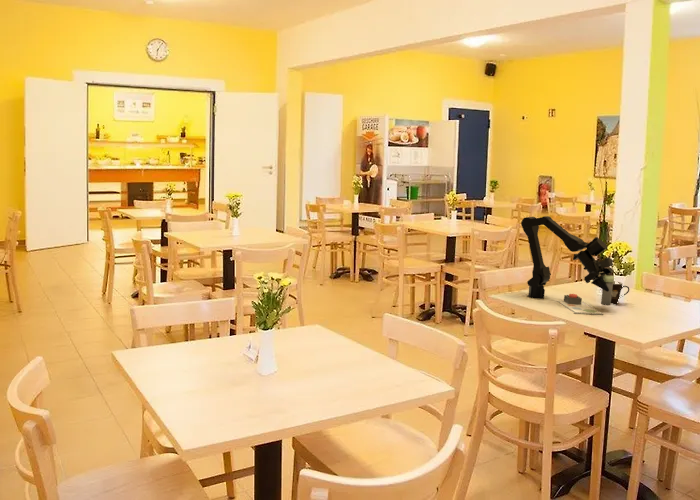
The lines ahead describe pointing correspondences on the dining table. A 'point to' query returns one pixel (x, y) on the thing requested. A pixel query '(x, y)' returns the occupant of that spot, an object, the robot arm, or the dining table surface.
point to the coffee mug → (617, 292)
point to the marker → (607, 295)
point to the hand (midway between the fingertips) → (610, 290)
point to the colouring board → (581, 308)
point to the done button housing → (572, 300)
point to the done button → (572, 295)
